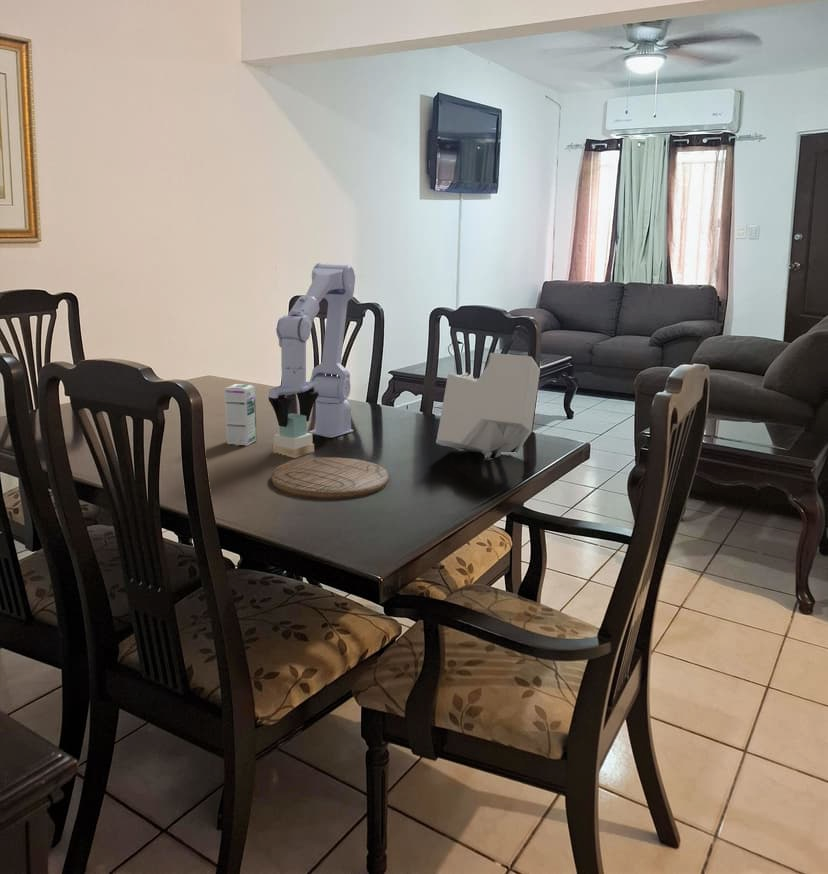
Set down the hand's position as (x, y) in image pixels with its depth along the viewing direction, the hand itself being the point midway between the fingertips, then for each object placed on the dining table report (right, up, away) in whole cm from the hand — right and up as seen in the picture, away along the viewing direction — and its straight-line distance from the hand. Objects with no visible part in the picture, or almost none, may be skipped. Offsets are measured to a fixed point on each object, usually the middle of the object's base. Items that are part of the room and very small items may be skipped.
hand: (293, 423), depth 187 cm
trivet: (+11, -13, -18) cm, 25 cm away
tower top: (0, -5, +1) cm, 5 cm away
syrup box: (-15, -5, +9) cm, 18 cm away
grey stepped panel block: (+46, -8, +4) cm, 47 cm away
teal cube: (0, -3, +1) cm, 3 cm away
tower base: (0, -7, +2) cm, 8 cm away
